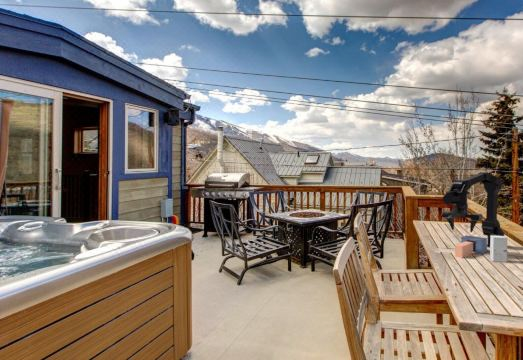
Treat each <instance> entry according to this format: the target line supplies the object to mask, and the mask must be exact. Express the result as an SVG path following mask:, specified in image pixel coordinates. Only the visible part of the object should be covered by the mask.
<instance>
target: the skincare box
mask: <svg viewBox="0 0 523 360" xmlns="http://www.w3.org/2000/svg"><path fill="white" fill-rule="evenodd" d="M489 260H490V261H492V262H500V263H501V262H502V263H507V262H508V237H507V236H505V235H504V236H492V235H491V236H490V247H489Z"/></svg>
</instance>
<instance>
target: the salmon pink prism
mask: <svg viewBox="0 0 523 360" xmlns="http://www.w3.org/2000/svg"><path fill="white" fill-rule="evenodd" d="M473 254H474V250H473V242H467V241H465V242H463V243H461V242H460V243H457V244H455V245H454V256H455V257H456V258H460V257H461V259H462V258H463V259H464V258H466V257H469V256H471V255H473Z"/></svg>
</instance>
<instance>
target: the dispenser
mask: <svg viewBox="0 0 523 360" xmlns="http://www.w3.org/2000/svg"><path fill="white" fill-rule="evenodd" d="M460 239H461V240H460V243H463V242H465V241H467V242H473V251H475V254H479V255H483V254H485V253H487V251H488V247H487V237H481V236H475V235H474V236H473V235H468V234H466V235H464V236H461V238H460Z"/></svg>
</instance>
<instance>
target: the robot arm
mask: <svg viewBox="0 0 523 360" xmlns="http://www.w3.org/2000/svg"><path fill="white" fill-rule="evenodd" d="M478 183H481V184H482V185H483V188H484V189H483V190H484V191H485V192H486V211H485V213H486V215H485V219H484V216H483V214H482V213H475V212H474V213H471V214H469V211H468V207H469V204H468V195H470V194H471V192H469V190H470V189H471V188H472V186H474V185H476V184H478ZM502 187H503V180H501V178H499V177H497V176H495V175H494V174H493V175H492V174H491V173H490V172H478V173H476V174H474V175H472V176H469V177H467V178H461V179H454V180H453V181H452V184H451V185H450V187H449V190H448V191H446V192H445V194H444V195H443V197H442V202H443V203H444V204H445V205H447V206H449V205H453V208H452V209H451V210H446V211H442V213H441V217H442V218H444V219H445V220H446V221H447V222H448V224H449V226H450V228H451V230H452V231H454V230H455V218H456V219H461V218H466V219H470V220H469V222H470V227H469V228H470V229H469V231H470V233H472V232H473V231H474V230H475V227H476V224H477V222H479V221H481V231H482V233H483V236H487V237H486V238H487V248H490V236H491V235H492V236H505V232H504V230H502V228H501V223H500V221H499V220H498V199H499V197H498V196H499V195H498V194H499V192H501V190H502Z"/></svg>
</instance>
